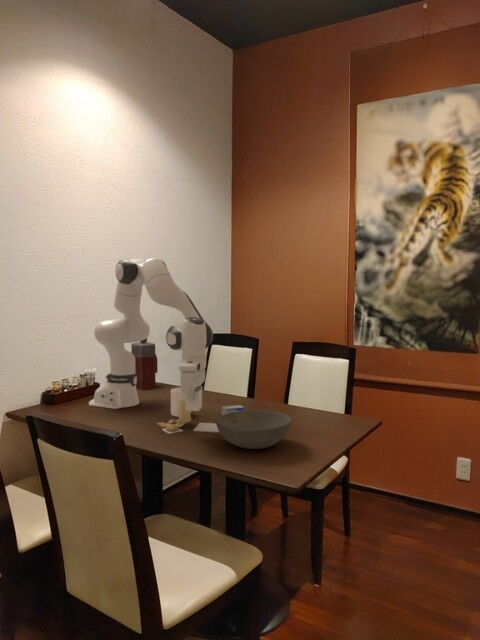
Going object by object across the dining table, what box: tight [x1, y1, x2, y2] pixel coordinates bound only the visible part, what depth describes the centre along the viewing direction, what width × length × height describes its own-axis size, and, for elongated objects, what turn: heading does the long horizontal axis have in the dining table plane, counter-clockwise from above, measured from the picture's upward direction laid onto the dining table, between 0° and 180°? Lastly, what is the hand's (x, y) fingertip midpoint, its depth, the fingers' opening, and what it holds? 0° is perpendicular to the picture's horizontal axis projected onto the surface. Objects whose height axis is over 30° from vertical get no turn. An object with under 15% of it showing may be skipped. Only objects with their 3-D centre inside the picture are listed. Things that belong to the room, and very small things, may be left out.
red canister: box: [130, 338, 159, 391], centre depth 269 cm, size 9×11×28 cm
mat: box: [192, 422, 220, 434], centre depth 202 cm, size 10×10×1 cm
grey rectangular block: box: [185, 385, 204, 412], centre depth 191 cm, size 5×5×8 cm
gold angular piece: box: [165, 399, 192, 431], centre depth 202 cm, size 14×5×10 cm, turn 150°
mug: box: [170, 387, 185, 418], centre depth 219 cm, size 9×12×11 cm
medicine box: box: [221, 404, 246, 416], centre depth 201 cm, size 8×4×9 cm, turn 118°
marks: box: [156, 421, 186, 435], centre depth 202 cm, size 13×15×1 cm
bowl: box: [215, 409, 292, 450], centre depth 182 cm, size 26×26×10 cm
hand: (193, 399), depth 191 cm, fingers closed on grey rectangular block, 5 cm apart
